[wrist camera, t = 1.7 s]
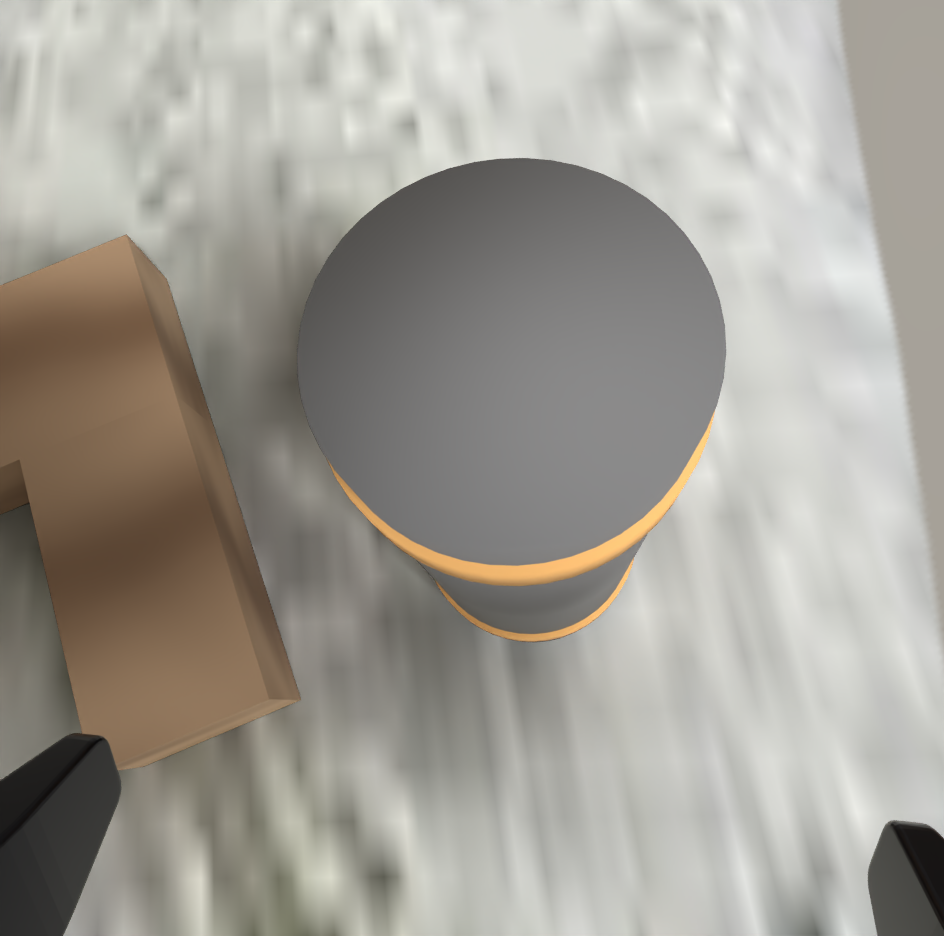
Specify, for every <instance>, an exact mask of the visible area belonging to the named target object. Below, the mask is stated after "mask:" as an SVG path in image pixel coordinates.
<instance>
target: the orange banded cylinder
mask: <svg viewBox="0 0 944 936" xmlns="http://www.w3.org/2000/svg"><path fill="white" fill-rule="evenodd" d="M725 358H726V340H725V324H724V319H723V314H722V309H721V304H720V300H719V297H718V294H717V291H716V289H715V286H714V283H713V280H712V277H711V275H710V273H709V271H708V269H707V267H706V266H705V264H704V262H703V260H702V258H701V256H700V254H699V253H698V251H697V250H696V248H695V247H694V246H693V244H692V243H691V241H690V240H689V239H688V237H687V236H686V235H685V233H684V232H683V231H682V230H681V229H680V228H679V227H678V226H677V225H676V224H675V222H674V221H673V220H672V219H671V218H670V217H669V216H668V215H667V214H666V213H665V212H663V211H662V210H661V209H660V208H658V207H657V206H656V205H655V204H654V203H652V202H651V201H650V200H649V199H647V198H646V197H644V196H643V195H641V194H640V193H638V192H636V191H635V190H633V189H631V188H630V187H628V186H627V185H625V184H623V183H621V182H619V181H616V180H614V179H612V178H610V177H608V176H606V175H603V174H601V173H598V172H595V171H592V170H589V169H586V168H583V167H580V166H577V165H572V164H567V163H562V162H557V161H552V160H541V159H529V158H513V159H495V160H487V161H480V162H473V163H469V164H465V165H461V166H457V167H453V168H449V169H446V170H444V171H441V172H438V173H435V174H433V175H430V176H427V177H425V178H423V179H421V180H419V181H417V182H415V183H413V184H411V185H409V186H407V187H405V188H403V189H401V190H399V191H398V192H396V193H395V194H393V195H392V196H390V197H389V198H387V199H385V200H384V201H382V202H381V203H380V204H378V205H377V206H376V207H375V208H373V209H372V210H371V211H370V212H369V213H367V214H366V215H365V216H364V217H363V218H361V219H360V220H359V221H358V222H357V223H356V225H355V226H354V227H353V228H352V229H351V230H350V231H349V232H348V233H347V234H346V235H345V236H344V237H343V238H342V240H341V241H340V242H339V244H338V245H337V246H336V248H335V249H334V250H333V252H332V253H331V254H330V256H329V257H328V259H327V260H326V262H325V264H324V266H323V268H322V269H321V271H320V273H319V275H318V276H317V278H316V280H315V283H314V285H313V287H312V290H311V292H310V295H309V297H308V300H307V302H306V306H305V310H304V313H303V317H302V321H301V325H300V331H299V340H298V348H297V372H298V382H299V388H300V394H301V401H302V404H303V407H304V410H305V414H306V417H307V420H308V423H309V426H310V428H311V430H312V432H313V435H314V437H315V439H316V441H317V443H318V445H319V447H320V449H321V451H322V452H323V454H324V455H325V457H326V459H327V461H328V463H329V465H330V467H331V469H332V471H333V473H334V475H335V477H336V479H337V480H338V482H339V483H340V485H341V486H342V488H343V489H344V491H345V492H346V494H347V495H348V497H349V498H350V500H351V501H352V502H353V503H354V504H355V505H356V506H357V507H358V509H359V510H360V511H361V512H362V513H363V514H364V515H365V516H366V517H367V519H368V520H369V521H370V522H371V523H372V524H373V525H374V526H375V527H376V528H377V529H378V530H379V531H380V532H381V533H382V534H383V535H384V536H385V537H387V538H388V539H389V540H390V541H391V542H393V543H394V544H395V545H396V546H397V547H398V548H400V549H401V550H402V551H404V552H405V553H407V554H408V555H410V556H412V557H413V558H415V559H416V560H417V561H418V562H419V563H420V564H421V565H422V566H423V567H424V569H425V570H426V571H427V572H428V573H429V574H430V575H431V576H432V577H433V578H434V579H435V581H436V583H437V585H438V587H439V588H440V590H441V591H442V593H443V594H444V596H445V597H446V598H447V600H448V601H449V602H450V603H451V604H452V605H453V606H454V607H455V608H456V609H457V610H458V611H459V613H461V614H462V615H463V616H464V617H465V618H466V619H468V620H469V621H470V622H472V623H473V624H475V625H476V626H478V627H479V628H481V629H483V630H485V631H487V632H489V633H491V634H493V635H496V636H500V637H503V638H506V639H510V640H516V641H522V642H543V641H550V640H554V639H558V638H562V637H564V636H567V635H569V634H572V633H574V632H576V631H578V630H580V629H582V628H583V627H585V626H587V625H588V624H590V623H591V622H592V621H594V620H595V619H596V618H598V617H599V616H600V615H601V614H602V613H603V612H604V611H605V610H606V609H607V608H608V607H609V605H610V604H611V603H612V602H613V600H614V599H615V598H616V596H617V595H618V593H619V591H620V590H621V588H622V586H623V585H624V583H625V581H626V579H627V577H628V574H629V572H630V570H631V567H632V564H633V560H634V557H635V555H636V553H637V551H638V550H639V548H640V546H641V544H642V543H643V541H644V539H645V537H646V536H647V534H648V532H649V531H650V530H652V529H653V528H654V527H655V526H656V525H657V524H658V522H659V521H660V520H661V519H662V517H663V516H664V515H665V514H666V512H667V511H668V510H669V509H670V507H671V506H672V505H673V503H674V502H675V500H676V498H677V497H678V495H679V493H680V492H681V490H682V489H683V487H684V485H685V484H686V482H687V480H688V478H689V477H690V475H691V473H692V472H693V470H694V468H695V467H696V465H697V463H698V461H699V459H700V457H701V454H702V452H703V449H704V447H705V444H706V442H707V439H708V437H709V433H710V429H711V425H712V421H713V417H714V413H715V408H716V406H717V403H718V399H719V395H720V391H721V387H722V383H723V379H724V369H725Z"/></svg>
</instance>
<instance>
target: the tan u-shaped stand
mask: <svg viewBox="0 0 944 936" xmlns="http://www.w3.org/2000/svg"><path fill="white" fill-rule="evenodd" d="M27 503H30V507H31V512H32V516H33V520H34V525H35V529H36V533H37V538H38V542H39V547H40V551H41V555H42V560H43V564H44V568H45V573H46V577H47V581H48V586H49V590H50V594H51V599H52V603H53V608H54V612H55V616H56V621H57V625H58V629H59V634H60V638H61V642H62V647H63V651H64V655H65V660H66V664H67V669H68V673H69V677H70V682H71V686H72V690H73V695H74V699H75V703H76V708H77V712H78V717H79V721H80V725H81V730H82V734H91V735H100V736H103V737H104V738H106V739H107V740H108V742H109V744H110V748H111V751H112V754H113V757H114V760H115V763H116V766H117V769H118V770H124V769H131V768H137V767H144V766H146V765H149V764H151V763H153V762H156V761H158V760H161V759H163V758H165V757H168V756H170V755H172V754H175V753H177V752H179V751H182V750H184V749H187V748H189V747H191V746H194V745H196V744H198V743H201V742H203V741H205V740H208V739H210V738H212V737H215V736H217V735H220V734H222V733H224V732H227V731H229V730H231V729H234V728H236V727H238V726H241V725H243V724H245V723H248V722H250V721H253V720H255V719H257V718H260V717H262V716H264V715H267V714H269V713H271V712H274V711H276V710H279V709H281V708H283V707H286V706H288V705H290V704H293V703H295V702H297V701H300V700H301V698H300V695H299V692H298V688H297V685H296V682H295V679H294V676H293V673H292V670H291V666H290V663H289V660H288V657H287V654H286V651H285V648H284V645H283V641H282V638H281V635H280V632H279V629H278V626H277V623H276V620H275V616H274V613H273V610H272V607H271V604H270V601H269V598H268V595H267V591H266V588H265V585H264V582H263V579H262V576H261V573H260V570H259V566H258V563H257V560H256V557H255V554H254V551H253V548H252V545H251V541H250V538H249V535H248V532H247V529H246V526H245V523H244V520H243V516H242V513H241V510H240V507H239V504H238V501H237V498H236V495H235V491H234V488H233V485H232V482H231V479H230V476H229V473H228V470H227V466H226V463H225V460H224V457H223V454H222V451H221V448H220V445H219V441H218V438H217V435H216V432H215V429H214V426H213V423H212V419H211V416H210V413H209V410H208V407H207V404H206V401H205V398H204V394H203V391H202V388H201V385H200V382H199V379H198V376H197V373H196V369H195V366H194V363H193V360H192V357H191V354H190V351H189V348H188V344H187V341H186V338H185V335H184V332H183V329H182V326H181V323H180V319H179V316H178V313H177V310H176V307H175V304H174V301H173V298H172V294H171V291H170V288H169V285H168V282H167V279H166V278H165V277H164V276H163V275H162V273H161V272H160V271H159V270H158V269H157V268H156V267H155V266H154V265H153V263H152V262H151V261H150V260H149V259H148V258H147V257H146V256H145V255H144V253H143V252H142V251H141V250H140V249H139V248H138V247H137V246H136V245H135V243H134V242H133V241H132V240H131V239H130V238H129V237H128V236H127V235H124V236H122V237H119V238H117V239H114V240H112V241H109V242H107V243H104V244H102V245H99V246H97V247H95V248H92V249H90V250H87V251H85V252H82V253H80V254H77V255H75V256H72V257H70V258H67V259H65V260H62V261H60V262H58V263H55V264H53V265H50V266H48V267H45V268H43V269H40V270H38V271H35V272H33V273H30V274H28V275H26V276H23V277H21V278H18V279H16V280H13V281H11V282H8V283H6V284H3V285H1V286H0V514H3V513H5V512H8V511H10V510H12V509H15V508H17V507H20V506H22V505H25V504H27Z"/></svg>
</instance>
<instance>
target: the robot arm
mask: <svg viewBox="0 0 944 936" xmlns="http://www.w3.org/2000/svg"><path fill="white" fill-rule="evenodd" d="M120 794H121V779H120V776H119V773H118V769H117V766H116V763H115V760H114V757H113V754H112V751H111V748H110V744H109V742H108V740H107V739H106V738H104V737H103V736H100V735H91V734H82V733H74V734H70V735H68V736H66V737H64V738H62V739H61V740H59V741H58V742H56V743H55V744H53V745H52V746H50V747H49V748H47V749H46V750H45V751H43V752H42V753H40V754H39V755H37V756H36V757H34V758H33V759H31V760H30V761H28V762H27V763H25V764H24V765H22V766H21V767H19V768H18V769H17V770H15V771H14V772H12V773H11V774H9V775H8V776H6V777H5V778H3V779H2V780H0V936H63V934H64V932H65V930H66V928H67V926H68V924H69V921H70V919H71V917H72V915H73V912H74V910H75V908H76V905H77V903H78V900H79V898H80V895H81V893H82V890H83V888H84V886H85V883H86V881H87V878H88V876H89V873H90V871H91V868H92V866H93V863H94V861H95V858H96V856H97V854H98V851H99V849H100V846H101V844H102V841H103V839H104V836H105V834H106V831H107V829H108V826H109V824H110V822H111V819H112V817H113V814H114V812H115V809H116V807H117V804H118V801H119V798H120ZM868 888H869V894H870V899H871V904H872V909H873V915H874V920H875V925H876V930H877V936H944V838H943V837H942V836H941V835H940V834H939V833H938V832H937V831H936V830H935V829H933V828H932V827H930V826H929V825H927V824H923V823H916V822H906V821H897V820H893V821H890V822H888V823H887V824H886V825H885V827H884V828H883V831H882V833H881V836H880V839H879V841H878V844H877V846H876V849H875V852H874V854H873V857H872V860H871V862H870V865H869V870H868Z"/></svg>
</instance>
